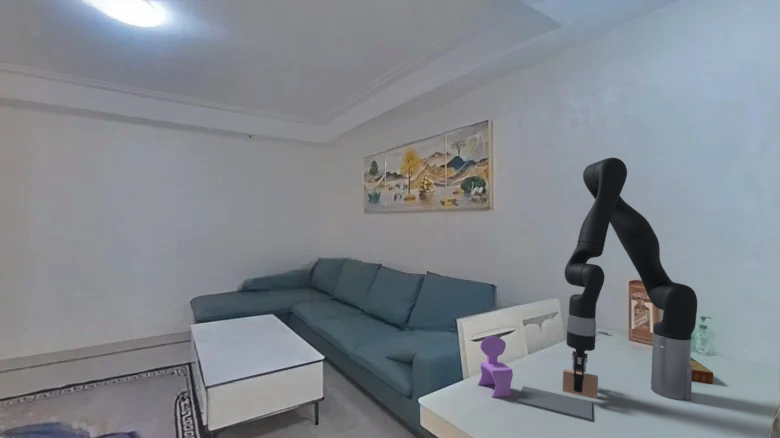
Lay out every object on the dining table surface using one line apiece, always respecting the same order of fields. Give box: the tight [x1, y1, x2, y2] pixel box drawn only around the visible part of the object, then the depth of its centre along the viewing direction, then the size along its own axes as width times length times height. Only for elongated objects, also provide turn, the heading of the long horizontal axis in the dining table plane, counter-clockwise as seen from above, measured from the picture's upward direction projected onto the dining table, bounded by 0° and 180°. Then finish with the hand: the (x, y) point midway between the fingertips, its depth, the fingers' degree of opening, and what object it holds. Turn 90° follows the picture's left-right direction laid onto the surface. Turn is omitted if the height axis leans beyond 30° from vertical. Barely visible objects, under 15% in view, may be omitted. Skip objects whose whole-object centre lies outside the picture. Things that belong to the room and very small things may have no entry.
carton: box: [690, 356, 714, 385], centre depth 131 cm, size 8×16×4 cm, turn 162°
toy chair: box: [477, 335, 514, 398], centre depth 110 cm, size 8×9×15 cm
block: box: [562, 368, 599, 400], centre depth 111 cm, size 9×2×6 cm, turn 63°
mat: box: [516, 385, 593, 422], centre depth 104 cm, size 18×11×1 cm, turn 63°
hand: (578, 386), depth 111 cm, fingers open, 8 cm apart
